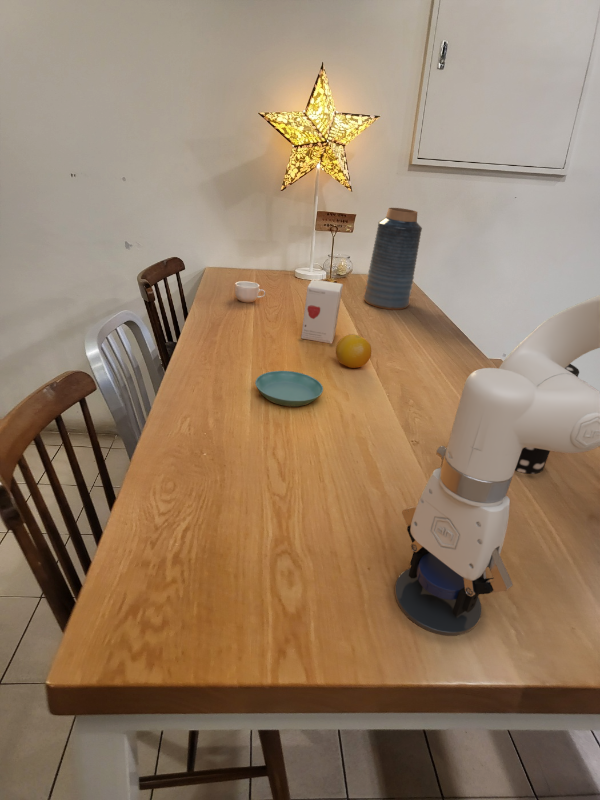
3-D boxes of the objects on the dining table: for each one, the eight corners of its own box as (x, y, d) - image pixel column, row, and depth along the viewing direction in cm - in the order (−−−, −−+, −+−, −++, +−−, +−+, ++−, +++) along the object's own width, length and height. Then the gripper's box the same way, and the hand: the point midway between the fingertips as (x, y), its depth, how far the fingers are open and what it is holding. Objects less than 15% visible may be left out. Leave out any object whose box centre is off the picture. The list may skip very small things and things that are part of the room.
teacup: (231, 302, 173) (232, 285, 171) (237, 295, 180) (238, 279, 177) (262, 306, 172) (263, 290, 170) (266, 300, 179) (268, 284, 177)
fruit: (353, 357, 142) (358, 328, 138) (374, 369, 136) (380, 339, 133) (327, 362, 137) (331, 332, 133) (348, 374, 131) (353, 344, 128)
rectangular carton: (300, 339, 150) (306, 286, 143) (305, 328, 158) (311, 278, 151) (332, 344, 149) (339, 291, 142) (336, 333, 157) (343, 283, 150)
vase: (402, 298, 199) (420, 209, 185) (413, 312, 185) (434, 216, 170) (359, 294, 197) (374, 204, 183) (367, 308, 183) (383, 211, 169)
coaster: (472, 576, 74) (473, 572, 74) (488, 643, 64) (489, 639, 64) (393, 562, 75) (394, 559, 75) (396, 626, 65) (397, 623, 65)
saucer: (294, 419, 108) (295, 407, 107) (240, 393, 116) (240, 382, 115) (334, 397, 119) (336, 386, 118) (283, 375, 127) (284, 365, 126)
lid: (418, 594, 65) (421, 585, 65) (414, 556, 71) (417, 547, 70) (472, 604, 65) (476, 594, 64) (464, 565, 71) (467, 556, 70)
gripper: (396, 447, 64) (370, 560, 73) (525, 532, 53) (478, 655, 61) (436, 433, 69) (408, 540, 77) (563, 507, 57) (514, 625, 65)
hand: (439, 590), depth 69 cm, fingers closed on lid, 6 cm apart
